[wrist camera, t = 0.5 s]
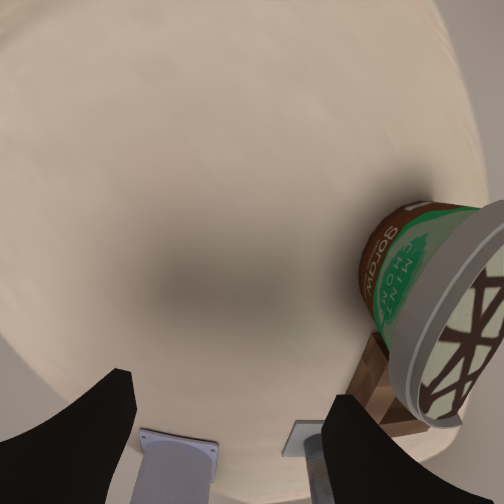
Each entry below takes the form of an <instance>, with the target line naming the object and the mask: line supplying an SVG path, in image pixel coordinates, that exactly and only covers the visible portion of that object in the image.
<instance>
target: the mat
mask: <svg viewBox="0 0 504 504" xmlns="http://www.w3.org/2000/svg"><path fill="white" fill-rule="evenodd" d="M324 422H325V421H297V420H296V421H295V424H294V426H293V429H292V431H291V433H290V436H289V438H288V440H287V443H286V445H285V447H284V450H283V452H282V457H305V452H304V445H303V443H304V441H305V439H307V438H308V437H310V436H312V435H314V434H318V433H321V428H322V426H323V424H324Z"/></svg>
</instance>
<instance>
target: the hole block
mask: <svg viewBox="0 0 504 504" xmlns="http://www.w3.org/2000/svg"><path fill="white" fill-rule="evenodd" d="M389 354H390V352H389V350H388V348H387V346H386V344H385V342H384V340H383V338H382V335H381V334H371V336H370V338H369V341H368V343H367V346H366V348H365V351H364V353H363V356H362V358H361V361H360V363H359V365H358V368H357V370H356V372H355V374H354V377H353V379H352V381H351V383H350V385H349V388H348V390H347V392H346V394H345V395H350V394H352V395H353V396H354V397H355V398H356V399H357V400H358V402H359V403H360V404H361V405H362V406H363V407H364V409H365V410H366V411H367V412H368V413H369V414H370V416H371V417H372V418H373V419H374V420H375V421H376V422H377V424H378V425H379V426H380V427H381V428H382V429H383V430H384V431H385V432H386V433H387V435H388V436H389V437H390V438H392V437H399V436H405V435H410V434H416V433H421V432H426V431H427V430H428V429H429V428H430V426H429V425H427V424H426V423H425V422H423V421H421V420H418V419H417V418H416V417H415V416H414V415H413V414H412V413H411V412H410V411H409V410H408V409H407V408H406V407H405V406H404V405H403V404H402V403H401V402H400V401H399V400H398V398H397V397H396V395H395V394H394V392H393V390H392V387H391V384H390V380H389V370H388V362H389Z"/></svg>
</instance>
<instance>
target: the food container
mask: <svg viewBox="0 0 504 504" xmlns="http://www.w3.org/2000/svg"><path fill="white" fill-rule="evenodd" d="M359 286H360V291H361V294H362V297H363V299H364V302H365V304H366V306H367V308H368V310H369V311H370V313H371V315H372V317H373V319H374V321H375V323H376V325H377V327H378V329H379V331H380V333H381V335H382V338H383V340H384V342H385V344H386V346H387V348H388V350H389V352H390V354H389V362H388V370H389V380H390V384H391V387H392V390H393V392H394V394H395V395H396V397H397V398H398V400H399V401H400V402H401V403H402V404H403V405H404V406H405V407H406V408H407V409H408V410H409V411H410V412H411V413H412V414H413V415H414V416H415V417H416V418H417V419H418V420H421V421H423V422H425V423H426V424H427V425H429V426H431V427H434V428H440V429H447V428H454V427H458V426H461V425H463V423H462V421H461V419H460V417H459V415H458V413H457V412H458V410H459V409H460V408H461V406H462V405H463V403H464V401H465V399H466V397H467V395H468V393H469V392H470V390H471V389H472V387H473V385H474V384H475V382H476V380H477V378H478V377H479V375H480V374H481V372H482V371H483V369H484V368H485V367H486V365H487V364H488V362H489V361H490V359H491V358H492V357H493V355H494V353H495V352H496V350H497V348H498V347H499V345H500V343H501V342H502V339H503V337H504V200H499V201H496V202H494V203H491V204H489V205H486V206H484V207H483V208H476V207H469V206H462V205H455V204H447V203H439V202H429V201H418V202H414V203H411V204H407V205H404V206H401V207H400V208H398V209H397V210H395V211H394V212H393V213H391V214H390V215H388V216H387V217H385V218H384V219H383V220H382V222H381V223H380V224H379V226H378V227H377V228H376V229H375V230H374V232H373V233H372V234H371V235H370V237H369V239H368V242H367V244H366V246H365V248H364V250H363V253H362V257H361V261H360V266H359Z"/></svg>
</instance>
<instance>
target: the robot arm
mask: <svg viewBox="0 0 504 504" xmlns="http://www.w3.org/2000/svg"><path fill="white" fill-rule="evenodd" d="M136 412H137V406H136V400H135V394H134V388H133V382H132V375H131V372H129V371H125V370H121V369H117V368H115V369H113V370H112V371H111V372H110V373H108V374H107V375H106V376H105V377H104V378H103V379H101V380H100V381H99V382H98V383H97V384H96V385H94V386H93V387H92V388H91V389H90V390H88V391H87V392H86V393H85V394H83V395H82V396H81V397H80V398H78V399H77V400H76V401H74V402H73V403H72V404H71V405H69V406H68V407H66V408H65V409H63V410H62V411H61V412H59V413H58V414H56V415H55V416H53V417H52V418H50V419H49V420H47V421H45V422H44V423H42V424H40V425H38V426H36V427H35V428H33V429H31V430H29V431H27V432H25V433H22V434H20V435H18V436H15V437H13V438H11V439H9V440H5V441H2V442H0V504H105V501H106V496H107V492H108V489H109V485H110V482H111V479H112V476H113V474H114V472H115V469H116V467H117V464H118V462H119V460H120V457H121V455H122V452H123V450H124V448H125V445H126V443H127V440H128V438H129V435H130V433H131V430H132V426H133V423H134V419H135V415H136ZM321 436H322V447H323V454H324V459H325V463H326V468H327V472H328V476H329V480H330V484H331V489H332V493H333V497H334V502H335V504H494V502H493V501H492V500H490V499H486V498H483V497H480V496H477V495H474V494H471V493H469V492H466V491H464V490H461V489H460V488H457V487H455V486H453V485H451V484H450V483H448V482H446V481H444V480H442V479H441V478H439V477H438V476H436V475H434V474H433V473H431V472H430V471H428V470H427V469H426V468H424V467H423V466H422V465H420V464H419V463H418V462H417V461H415V460H414V459H413V458H412V457H410V456H409V455H408V454H407V453H406V452H405V451H404V450H403V449H402V448H401V447H399V446H398V445H397V444H396V443H395V442H394V441H393V440H392V439H391V438H390V437H389V436H388V435H387V433H386V432H385V431H384V430H383V429H382V428H381V427H380V426H379V425H378V424H377V422H376V421H375V420H374V419H373V418H372V417H371V416H370V414H369V413H368V412H367V411H366V410H365V409H364V407H363V406H362V405H361V404H360V403H359V402H358V400H357V399H356V398H355V397H354V396H353V395H352V394H350V395H336V398H335V400H334V402H333V404H332V407H331V409H330V411H329V413H328V415H327V417H326V420H325V422H324V424H323V426H322V428H321ZM139 437H140V441H141V445H142V449H143V453H144V456H143V460H142V463H141V467H140V470H139V473H138V477H137V480H136V483H135V487H134V490H133V494H132V498H131V501H130V504H208V499H209V491H210V483H213V482H214V477H215V470H216V462H217V455H218V447H219V446H218V444H216V443H213V442H205V441H199V440H193V439H187V438H181V437H176V436H171V435H166V434H161V433H157V432H152V431H148V430H144V429H140V430H139Z"/></svg>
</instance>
